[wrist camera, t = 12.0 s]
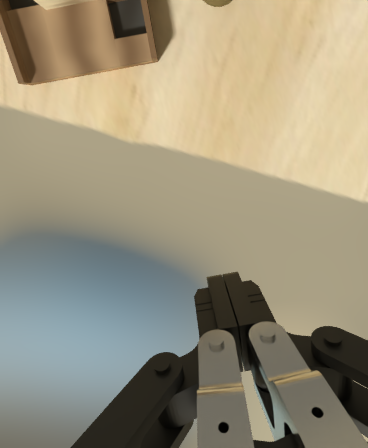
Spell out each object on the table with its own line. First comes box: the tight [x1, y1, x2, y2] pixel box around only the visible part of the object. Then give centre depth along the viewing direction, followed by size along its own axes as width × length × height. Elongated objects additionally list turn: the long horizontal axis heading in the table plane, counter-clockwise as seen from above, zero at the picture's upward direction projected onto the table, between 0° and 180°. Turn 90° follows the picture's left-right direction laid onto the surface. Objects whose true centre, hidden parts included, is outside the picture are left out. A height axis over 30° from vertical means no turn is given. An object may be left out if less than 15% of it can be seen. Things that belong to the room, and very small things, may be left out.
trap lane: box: [0, 0, 158, 85], centre depth 36 cm, size 18×15×5 cm
